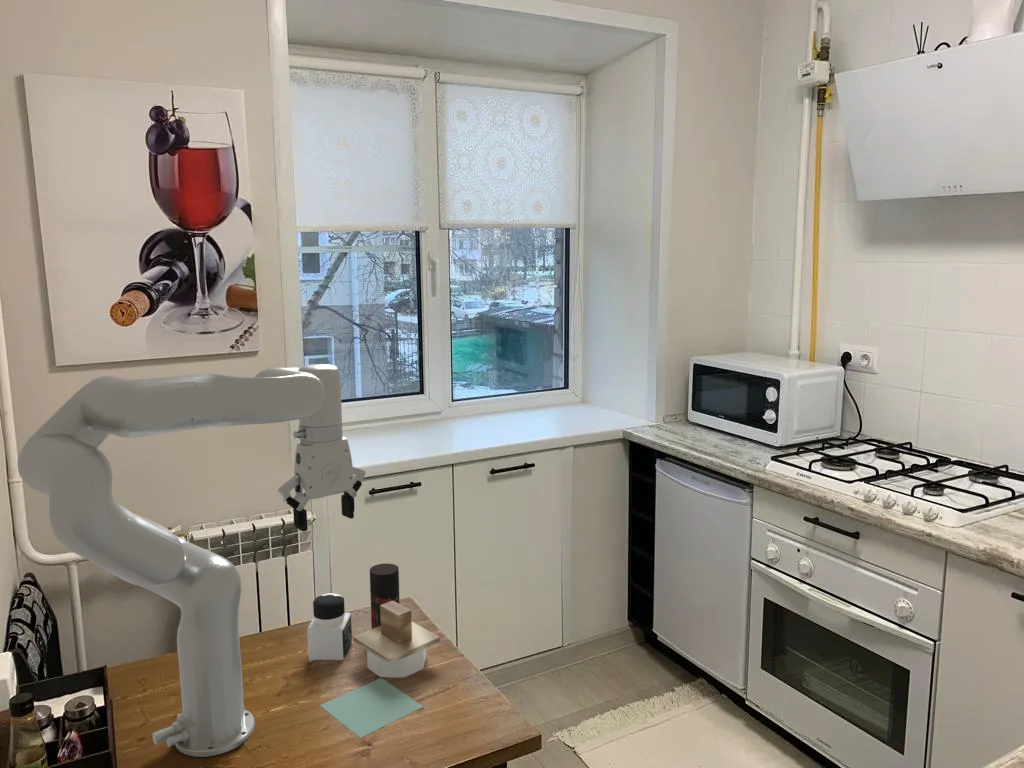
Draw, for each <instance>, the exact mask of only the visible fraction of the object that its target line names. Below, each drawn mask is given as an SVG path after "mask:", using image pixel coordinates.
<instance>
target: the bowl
mask: <svg viewBox="0 0 1024 768" xmlns="http://www.w3.org/2000/svg"><path fill="white" fill-rule="evenodd" d="M366 656H367V657H366V660H367V663H366V664H367V669H368V670H369V671H371V672H372V673H374V674H375V675H377V676H378V677H380V678H406V677H409V676H410V675H413V674H415V673H417V672H419V671H422V670H423V669H424V668H425V663H426V659H427V648H425V649H423V650H421V651H418V652H416V653H414V654H412V655H409V656H407V657H405V658H403V659H400V660H398V661H396V662H394V663H391V664H388V663H386V662H385V661H383V660H381V659H380V658H378V657H377V656H375V655H374V654H372V653H370V652H369V651H367V650H366Z"/></svg>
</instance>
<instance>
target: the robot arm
mask: <svg viewBox="0 0 1024 768" xmlns="http://www.w3.org/2000/svg"><path fill="white" fill-rule="evenodd" d="M342 411H343V410H342V385H341V372H340V370H339V368H338V367H337V366H336V365H333V364H330V363H329V364H327V363H326V364H325V363H317V364H316V363H315V364H308V365H304V366H301V367H270V368H269V367H268V368H265V369H263V370H261V371H259V372H258V373H256V374H255V376H254V377H249V376H247V377H246V376H237V375H230V374H221V373H204V372H203V373H194V374H193V373H192V374H184V375H175V376H173V375H172V376H163V377H152V378H140V379H127V378H124V377H119V376H115V375H104V376H98V377H96V378H94V379H92V380H90V381H89V382H87V383H86V384H85V385H82V387H81V388H79V390H78V391H76V393H74V394H73V395H72V396H71V397H70V398H69V399H68V400H67V401H66V402H65V403H64V404H63V405H62V406H60V408H58V410H56V411H55V413H53V414H52V416H51V417H49V418H48V420H47V421H45V422H44V423H43V424H42V425H41V426H40V428H38V429H37V430H36V431H35V432H34V433H33V434H32V435H31V436H30V438H28V440H26V442H25V443H24V445H23V447H22V448H21V450H20V451H19V454H18V457H17V464H16V465H17V470H18V474H19V476H20V478H21V479H22V481H23V482H24V483H25V484H26V485H28V486H29V487H30V488H32V489H34V490H36V491H38V492H40V493H42V494H44V495H46V496H48V519H49V523H50V528H51V530H52V532H53V535H54V537H55V539H56V540H57V541H58V542H59V544H60V545H62V546H63V547H64V548H66V549H67V550H68V551H70V552H72V553H74V554H76V555H78V556H80V557H81V558H83V559H85V560H87V561H89V562H91V563H93V564H95V565H96V566H99V567H101V568H102V569H103V570H104V571H106V572H107V573H110V574H112V575H113V576H115V577H117V578H119V579H120V580H122V581H124V582H126V583H129V584H131V585H135V586H139V587H142V588H144V589H145V590H148V591H150V592H152V593H154V594H157V595H158V596H161V597H162V598H164V599H165V600H168V601H169V602H171V603H173V605H176V606H178V607H179V609H180V613H181V614H180V616H181V617H180V621H179V625H178V628H177V634H176V646H177V647H176V649H177V657H178V658H177V659H178V668H179V670H178V671H179V681H180V683H179V684H180V694H181V696H180V697H181V705H182V706H181V707H182V712H179V713H177V714H176V721H173V722H172V723H171V725H170V726H168V727H165V728H161V729H159V730H157V731H154V732H152V733H151V736H152V742H153V743H154V745H155V746H156V745H159V744H161V743H163V742H166V744H167V747H168V748H171V747H173V746H175V748H176V750H178V752H179V753H182V754H183V755H187V756H189V757H196V758H198V757H199V758H204V757H205V758H207V757H215V756H218V755H222V754H224V753H225V754H226V753H228V752H230V751H233V750H235V749H237V748H238V747H240V746H242V744H244V742H245V741H246V740H247V739H248V738H249V737H251V735H252V734H253V732H254V730H255V726H256V723H255V717H254V715H253V713H251V712H250V711H249V710H248V709H245V705H244V704H245V702H244V687H243V673H242V671H243V669H242V659H241V658H242V656H241V643H240V629H239V627H240V624H239V622H240V620H239V619H240V618H239V617H240V604H241V596H242V588H243V585H242V584H243V582H242V577H241V575H240V573H239V571H238V569H237V567H236V566H235V565H234V564H233V563H232V562H231V561H229V560H228V559H227V558H225V557H224V556H222V555H219V554H217V553H215V552H213V551H211V550H208V549H205V548H202V547H200V546H199V545H196V544H194V543H192V542H190V541H188V540H186V539H184V538H182V537H180V536H178V535H176V534H175V533H174V532H173V531H171V530H170V529H168V528H166V527H165V526H164V525H161V524H159V523H158V522H155V521H153V520H151V519H148V518H147V517H144V516H141V515H138V514H135V513H134V512H132V511H130V510H129V509H127V508H125V507H124V506H123V505H120V504H119V503H117V502H116V500H115V499H114V496H113V472H112V467H111V464H110V461H109V459H108V458H107V456H106V455H105V454H104V453H103V452H102V450H100V449H99V448H100V447H101V445H103V444H104V443H105V441H106V440H107V439H108V438H109V437H110V435H112V436H116V437H119V438H126V439H127V438H128V439H131V438H132V439H135V438H145V437H151V436H157V435H163V434H169V433H175V432H182V431H183V432H184V431H191V430H195V429H196V430H197V429H203V428H204V429H205V428H211V427H212V428H213V427H214V428H215V427H223V428H224V427H234V426H235V427H236V426H246V425H247V426H248V425H249V426H250V425H265V424H266V425H267V424H268V425H269V424H276V423H284V422H291V421H296V420H299V421H298V423H299V425H298V429H297V430H294V431H293V438H294V439H299V441H297V442H296V443H297V444H296V447H295V455H294V464H293V465H294V466H293V477H291V478H290V479H289V480H287V481H286V482H285V483H283V484H282V485H281V486H280V487H279V488H278V493H279V494H280V497H281V498H282V500H283V501H284V503H286V504H287V505H288V506H290V507H291V508H292V509H293V525H294V526H295V528H296V529H297V530H299V531H301V532H303V533H305V532H307V531H308V511H307V509H305V507H306V506H307V503H308V502H309V500H317V499H320V498H321V499H322V498H326V497H329V496H330V497H331V496H334V495H338V494H341V495H340V496H341V497H340V498H341V500H340V501H341V504H340V505H341V514H342V516H343V517H346V518H348V519H350V520H351V519H354V518H355V509H356V508H355V497H357V496H358V491H359V490H360V488H361V487H362V485H363V484H362V482H363V481H364V479H365V475H366V470H363V469H361V468H358V467H355V466H353V460H352V453H351V449H350V445H349V441H348V437H346V436H343V414H342V413H343V412H342ZM293 489H294V491H295V495H294V497H292V496H293V495H291V491H292V490H293ZM342 493H343V494H342Z"/></svg>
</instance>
